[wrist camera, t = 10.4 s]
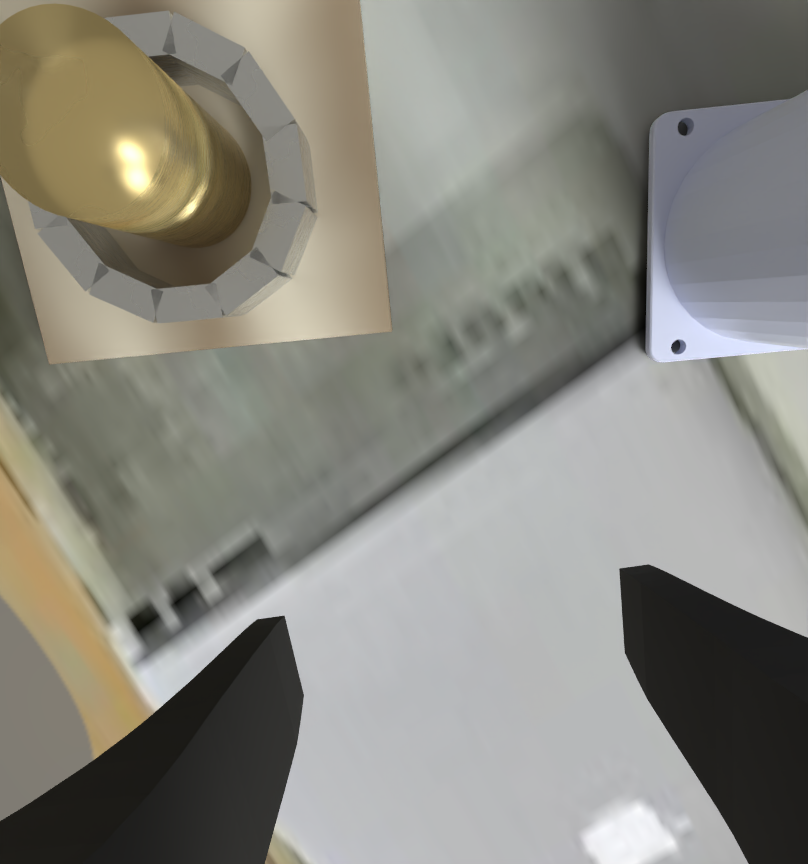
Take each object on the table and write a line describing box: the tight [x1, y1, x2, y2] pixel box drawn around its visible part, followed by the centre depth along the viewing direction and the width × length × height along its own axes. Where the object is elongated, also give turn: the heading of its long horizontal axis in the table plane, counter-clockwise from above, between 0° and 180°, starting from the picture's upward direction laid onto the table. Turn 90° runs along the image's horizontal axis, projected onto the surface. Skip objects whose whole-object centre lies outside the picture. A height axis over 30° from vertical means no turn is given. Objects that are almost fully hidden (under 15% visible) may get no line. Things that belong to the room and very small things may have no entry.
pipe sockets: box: [28, 11, 318, 324], centre depth 15 cm, size 8×15×2 cm, turn 5°
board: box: [0, 0, 392, 364], centre depth 16 cm, size 12×20×1 cm, turn 5°
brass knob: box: [0, 3, 251, 248], centre depth 14 cm, size 4×4×6 cm
